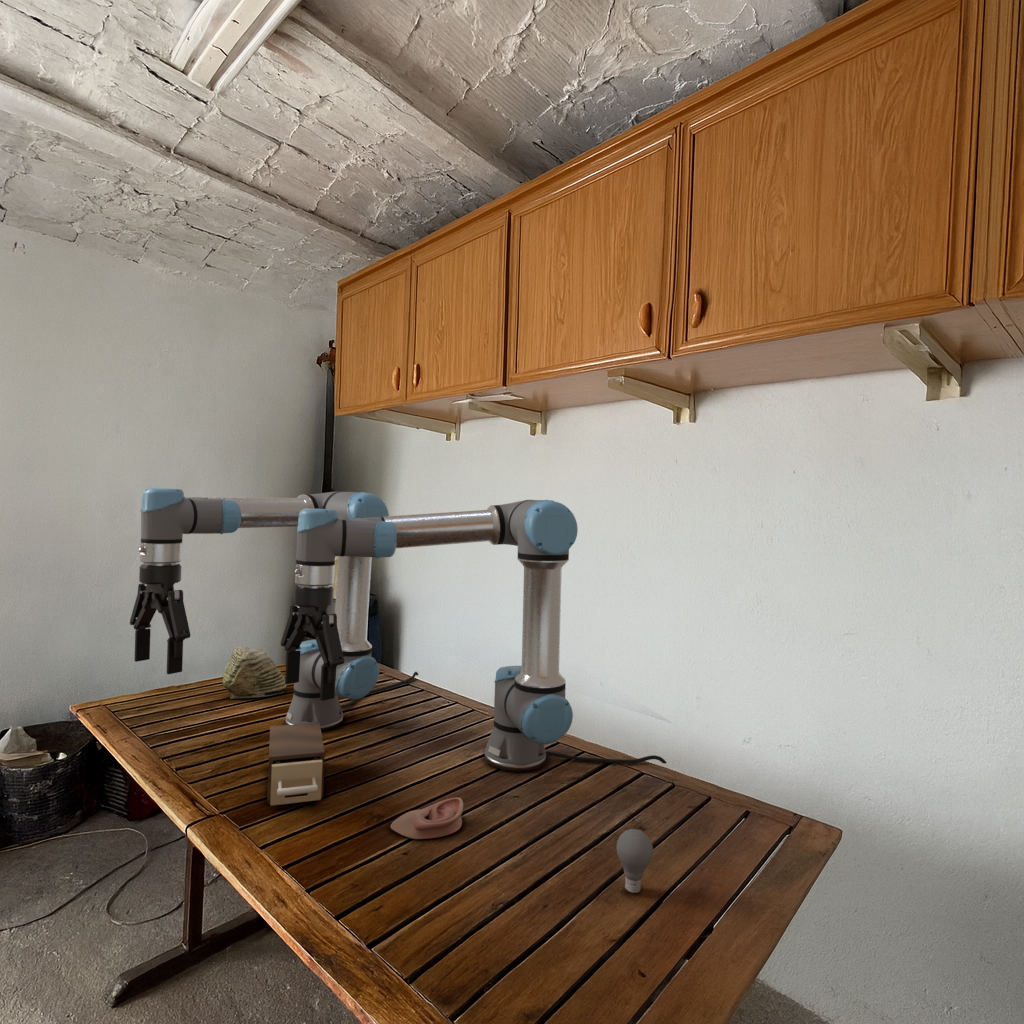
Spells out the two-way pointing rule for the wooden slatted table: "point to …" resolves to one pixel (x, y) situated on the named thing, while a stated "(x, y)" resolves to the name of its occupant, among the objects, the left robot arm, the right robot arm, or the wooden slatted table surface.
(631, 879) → the light bulb
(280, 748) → the tall brown box
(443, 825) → the anatomical model
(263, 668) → the fossil
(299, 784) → the drawer
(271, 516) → the left robot arm
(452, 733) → the wooden slatted table surface
